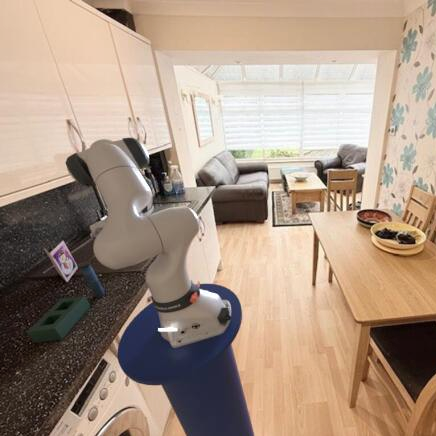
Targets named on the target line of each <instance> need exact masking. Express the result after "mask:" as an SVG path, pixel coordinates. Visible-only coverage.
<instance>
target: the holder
mask: <svg viewBox="0 0 436 436" xmlns="http://www.w3.org/2000/svg"><path fill="white" fill-rule="evenodd" d="M90 307H91V304H90V302H89V300H88V299H87V297H86V295H80V296H73V297H64V298H61V299H59V300H58V301H57V302H56V303H55V304H54V305H53V306H52V307H51V308H50V309H49V310H48V311H47V312H46V313H45V314H44V315H43V316H42V317H41V318H40V319H39V320H38V321H36V323H35V324H34V325H33V326H31V328H29V329H28V330H27V331H26V334H27V335H28V336H29V338H31V340H32V341H33V342H34V344H39V343H45V342H52V341H53V342H54V341H59V340H63V339H64V338H65V337H66V336H67V334H69V332H70V331H71V330H72V329H73V328H74V327H75V325H76V324H77V323H78V321H80V319H81V318H82V317H83V316H84V315H85V314H86V313H87V311H88V310H89V309H90Z"/></svg>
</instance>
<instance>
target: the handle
mask: <svg viewBox="0 0 436 436" xmlns="http://www.w3.org/2000/svg"><path fill="white" fill-rule="evenodd" d="M77 267H78V269H77V270H80V272H81V274H82V276H83V278H84V279H85V281H86V283H87V285H88V286H89V289H90V290H91V292H92V294H93V295H94V297H95V298H97V299H98V298H102V297H103V296H105V294H106V291H105V289H104V288H103V285H102V284H101V282H100V279H99V277H98V276H97V274H96V272H95V271H94V269H93V266H92V263H91V261H90V260H85V261H81V262H79V263H78V264H77Z"/></svg>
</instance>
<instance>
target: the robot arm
mask: <svg viewBox="0 0 436 436" xmlns="http://www.w3.org/2000/svg"><path fill="white" fill-rule="evenodd" d="M149 155H150V154H149V152H148V149H147V148H146V147H145V145H144V144H143V143H142V142H140V141H139V140H138V139H137V138H134V137H123V138H122V139H118V140H112V139H107V138H101V139H98V140H96V141H94V142H92V143H91V144H90V146H89V148H86V149H84V150H81V151H80V152H74V153H72V154H70V155H69V156H68V157H67V158H66V160H65V166H66V171H67V172H68V174H69V176H70V177H71V178H72V179H73V180H74V181H75V182H77V183H79V184H80V185H81V186H84V187H89V188H90V187H96V188H97V189H98V191H99V193H100V194H101V196H102V198H103V201H104V203H105V205H106V209H107V218H105V219H101V220H98V221H96V222H95V223H93V224H91V225H90V226H89V229H90V232H91V233H90V234H89V236H90V237H91V238H94V241H93V247H92V248H93V254H94V256H95V258H96V260H97V261H98V262H99V263H100V264H101V265H103V266H104V267H106V268H108V269H111V270H120V269H124V268H128V267H131V266H135V265H138V264H140V263H143V262H144V261H145V262H146V261H147V260H149V259H151V258H153V257H155V259H154V260H153V261H152V263H151V264H149V266H148V267H147V269H146V273H145V283H146V285H147V287H148V290H149V293H150V295H151V297H150V298H151V301H152V302H153V305H154V307H155V309H156V310H157V311H158V314H159V318H160V325H161V329H158V330H159V331H160V332H161V336H162V337H163V338H164V339H165V340H167V341H169V342H170V344H171V346H172V347H173V348H177V347H180V346H184V345H187V344H190V343H194V342H197V341H200V340H204V339H207V338H210V337H214V336H217V335H220V334H222V333H224V331H225V330H226V329H227V327H228V325H229V322H230V319H231V305H230V303H229V302H228V301H227V300H221V298H220V296H219V295H218V294H216V293H212V292H209V291H207V290H202V289H199V286H200V284H201V283H200V281H199V280H198V281H197V286H196V285H195V284H196V283H194V281H193V280H192V279H191V277H190V273H189V269H188V268H189V267H188V255H189V251H190V249H191V248H190V247H191V245H192V244H193V241H194V240H195V238H196V237H197V236H198V234H199V232H200V229H201V221H200V218H199V216H198V214H197V213H196V212H195V211H194V210H193V209H192V208H191V207H188V206H187V205H182V206H181V205H180V206H173V207H168V208H164V209H162V210H158V211H156V212H153V211H154V202H155V198H154V195H153V193H152V189H151V187H150V186H149V185H148V183H147V180H146V179H145V178H144V176H143V175H142V173H141V171H140V170H142V169H144V168H146V167H147V166H149V165H150V156H149ZM152 302H151V303H152ZM227 306H228V307H227ZM179 342H180V343H179Z"/></svg>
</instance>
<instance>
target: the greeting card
mask: <svg viewBox="0 0 436 436" xmlns="http://www.w3.org/2000/svg"><path fill="white" fill-rule="evenodd" d="M42 248H43V249H44V252H45V254H46V255H47V256H48V258H49V259H50V262H51V263H52V265H53V267H54V268H55V269H56V271H57V273H58V274H59V275H60V277H61V278H62V279H63V280H64V281H65V282H66V283H68V282H69V281H70V280H71V278H72V276H73V275H74V274H75V273H76V271H78V270H79V269H78V267H77V265H78V264H77V263H76V261H75V259H74V257H73V255H72V254H71V251H70V250H69V248H68V247H67V244H66V243H65V241H64V240H62V241H60V242H59V243H58V244H57V246H55V248H53V249H52V251H50V252H49V251H48V250H47V249H46V247H44V246H42Z"/></svg>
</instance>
